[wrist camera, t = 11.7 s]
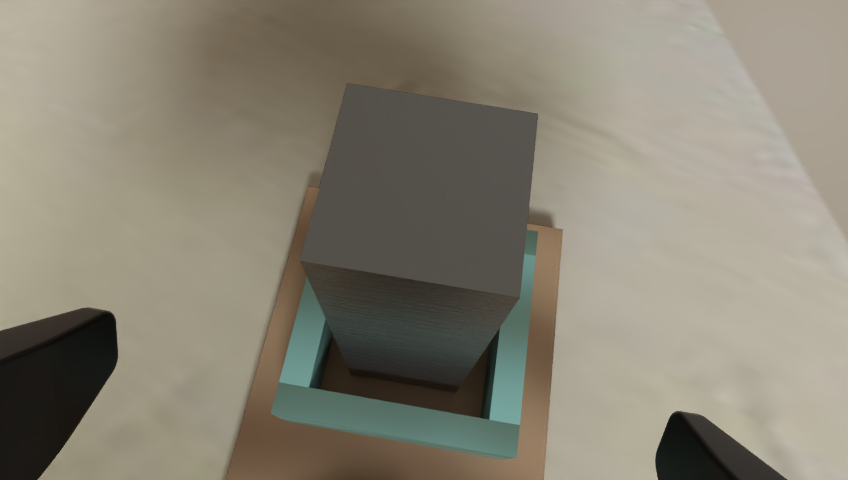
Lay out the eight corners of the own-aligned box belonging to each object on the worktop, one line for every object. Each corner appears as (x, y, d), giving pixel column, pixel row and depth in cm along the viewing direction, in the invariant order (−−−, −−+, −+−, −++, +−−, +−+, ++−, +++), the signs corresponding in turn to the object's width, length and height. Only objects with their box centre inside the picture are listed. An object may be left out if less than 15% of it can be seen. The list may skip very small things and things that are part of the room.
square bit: (455, 392, 21) (520, 297, 10) (350, 374, 21) (299, 260, 10) (469, 291, 23) (538, 113, 12) (371, 275, 23) (346, 82, 12)
